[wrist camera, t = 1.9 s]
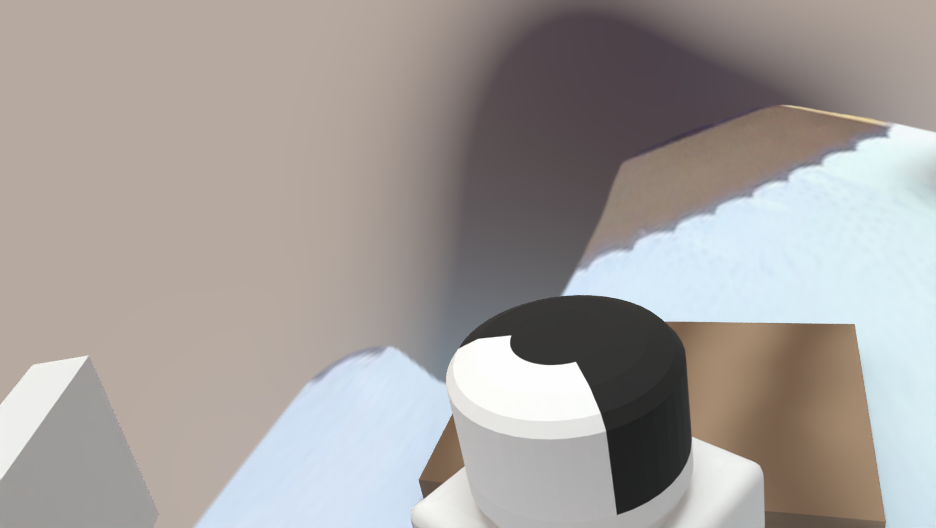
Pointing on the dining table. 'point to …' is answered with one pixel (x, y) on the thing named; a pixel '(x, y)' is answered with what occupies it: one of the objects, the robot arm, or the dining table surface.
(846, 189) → the dining table surface
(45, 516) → the robot arm
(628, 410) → the container
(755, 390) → the serving board
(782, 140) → the dining table surface
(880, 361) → the dining table surface
